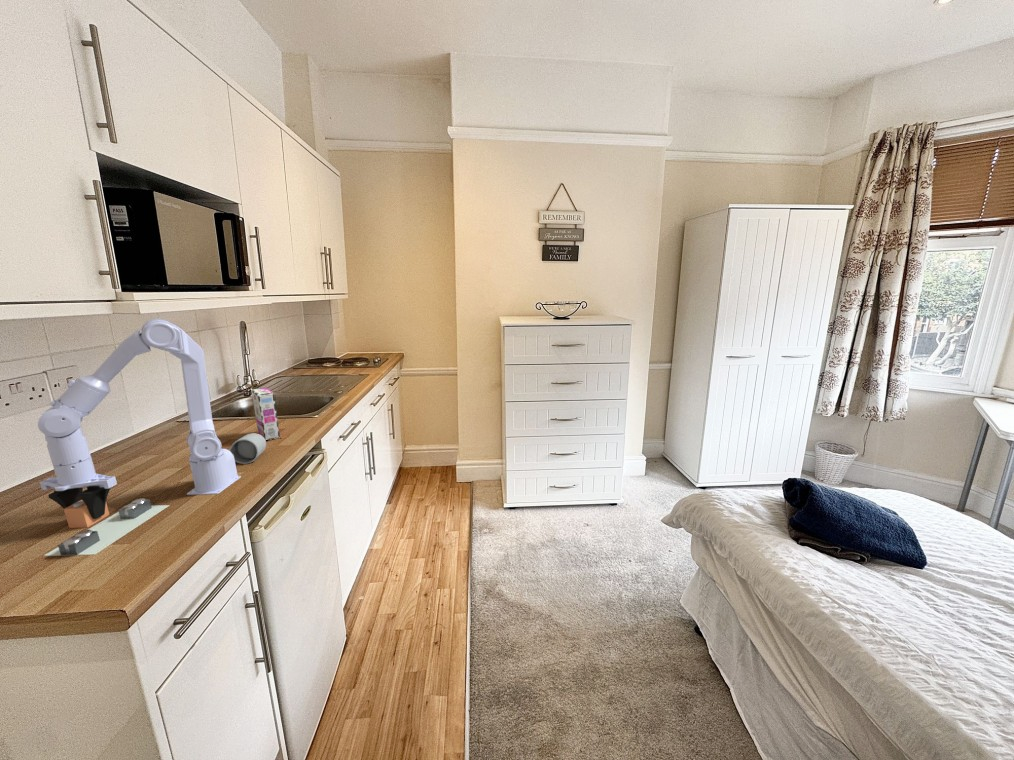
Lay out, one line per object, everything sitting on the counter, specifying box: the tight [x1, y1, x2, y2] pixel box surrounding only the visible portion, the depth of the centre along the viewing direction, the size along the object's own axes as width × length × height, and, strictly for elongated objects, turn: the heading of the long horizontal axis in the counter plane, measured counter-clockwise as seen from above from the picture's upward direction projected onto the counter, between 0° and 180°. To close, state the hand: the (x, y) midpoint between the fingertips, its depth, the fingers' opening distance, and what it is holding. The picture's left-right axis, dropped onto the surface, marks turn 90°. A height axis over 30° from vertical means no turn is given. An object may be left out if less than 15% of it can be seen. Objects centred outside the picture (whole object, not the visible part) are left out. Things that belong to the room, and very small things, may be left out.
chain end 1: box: [57, 529, 100, 556], centre depth 80 cm, size 5×3×2 cm
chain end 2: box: [117, 497, 153, 519], centre depth 92 cm, size 5×3×2 cm
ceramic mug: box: [229, 432, 267, 465], centre depth 121 cm, size 11×8×8 cm
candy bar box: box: [251, 387, 281, 441], centre depth 140 cm, size 11×5×16 cm, turn 42°
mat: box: [43, 504, 170, 557], centre depth 87 cm, size 18×10×1 cm, turn 0°
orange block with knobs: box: [63, 500, 111, 529], centre depth 89 cm, size 5×4×6 cm
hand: (88, 516), depth 90 cm, fingers closed on orange block with knobs, 4 cm apart
